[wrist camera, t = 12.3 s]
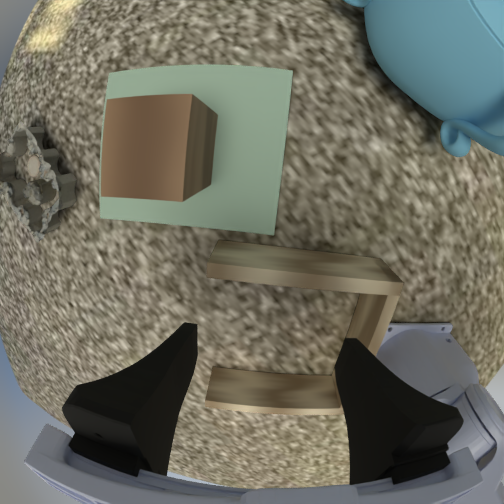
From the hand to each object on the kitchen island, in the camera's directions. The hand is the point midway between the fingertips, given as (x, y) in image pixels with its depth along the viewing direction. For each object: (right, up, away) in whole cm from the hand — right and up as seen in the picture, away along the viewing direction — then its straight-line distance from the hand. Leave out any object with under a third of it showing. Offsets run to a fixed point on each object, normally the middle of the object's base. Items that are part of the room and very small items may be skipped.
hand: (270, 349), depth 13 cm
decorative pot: (+15, +22, +2) cm, 26 cm away
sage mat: (-6, +12, +6) cm, 15 cm away
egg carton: (-21, +12, +7) cm, 25 cm away
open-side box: (+2, -2, +10) cm, 11 cm away
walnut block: (-6, +12, +5) cm, 14 cm away
